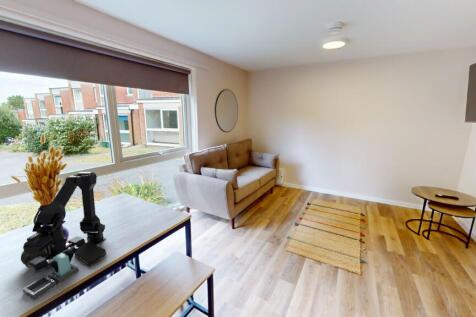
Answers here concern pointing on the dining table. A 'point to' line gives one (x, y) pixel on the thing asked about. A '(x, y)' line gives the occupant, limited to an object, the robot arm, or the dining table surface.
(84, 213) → the robot arm
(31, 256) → the squash
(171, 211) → the dining table surface
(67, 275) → the grey square frame
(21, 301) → the dining table surface
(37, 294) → the port block
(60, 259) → the plug
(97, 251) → the black sponge
